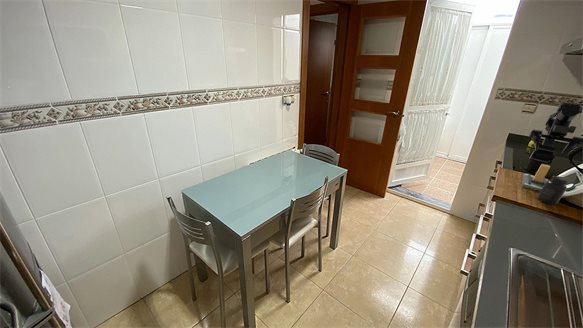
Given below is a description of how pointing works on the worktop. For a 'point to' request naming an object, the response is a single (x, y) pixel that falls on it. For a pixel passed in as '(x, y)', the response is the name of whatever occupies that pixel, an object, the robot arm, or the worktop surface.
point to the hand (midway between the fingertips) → (548, 153)
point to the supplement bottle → (553, 190)
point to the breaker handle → (540, 174)
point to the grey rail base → (527, 182)
